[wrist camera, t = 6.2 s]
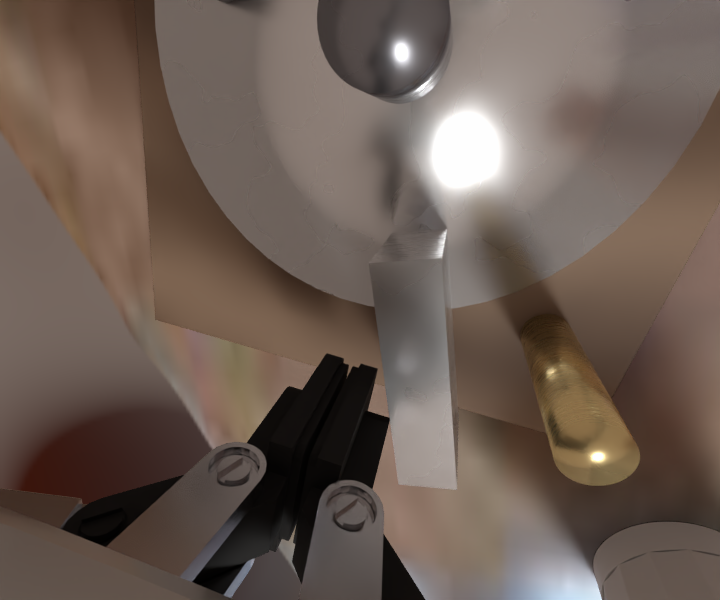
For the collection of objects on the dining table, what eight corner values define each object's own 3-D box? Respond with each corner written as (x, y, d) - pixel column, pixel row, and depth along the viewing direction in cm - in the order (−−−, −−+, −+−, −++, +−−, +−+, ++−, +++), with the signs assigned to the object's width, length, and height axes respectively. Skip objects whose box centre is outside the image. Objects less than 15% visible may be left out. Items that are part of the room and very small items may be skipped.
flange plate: (125, -184, 10) (-91, -389, 6) (788, -505, 6) (1322, -1560, 2) (272, 387, 17) (210, 466, 13) (652, 397, 13) (738, 516, 9)
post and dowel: (354, 50, 11) (267, -19, 6) (427, -12, 10) (393, -152, 5) (530, 363, 14) (569, 494, 9) (604, 337, 13) (694, 466, 8)
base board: (161, -495, 10) (91, -641, 8) (1067, -566, 7) (1284, -820, 5) (185, 302, 19) (155, 319, 17) (571, 410, 16) (585, 445, 14)
